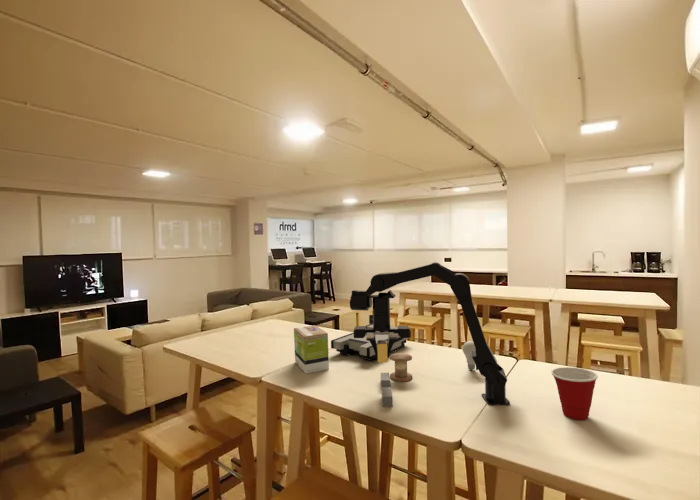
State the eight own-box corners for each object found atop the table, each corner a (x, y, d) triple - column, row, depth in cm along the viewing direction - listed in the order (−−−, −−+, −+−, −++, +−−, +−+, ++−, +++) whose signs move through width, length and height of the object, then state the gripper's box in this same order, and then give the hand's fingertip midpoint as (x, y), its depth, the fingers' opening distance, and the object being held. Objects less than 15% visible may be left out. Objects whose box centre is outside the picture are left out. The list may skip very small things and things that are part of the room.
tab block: (387, 362, 113) (387, 342, 113) (377, 362, 113) (377, 343, 113) (387, 358, 117) (386, 339, 117) (377, 358, 117) (377, 339, 117)
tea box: (294, 362, 143) (293, 327, 143) (316, 358, 147) (316, 324, 147) (305, 374, 129) (303, 335, 129) (329, 369, 133) (328, 332, 133)
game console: (331, 356, 150) (330, 337, 150) (372, 339, 176) (372, 323, 175) (370, 365, 138) (369, 345, 138) (408, 346, 163) (408, 328, 163)
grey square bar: (392, 406, 102) (392, 396, 102) (382, 406, 102) (382, 396, 102) (389, 381, 121) (389, 372, 121) (380, 381, 121) (380, 372, 121)
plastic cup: (554, 402, 102) (554, 362, 102) (599, 413, 95) (599, 370, 95) (548, 417, 93) (547, 373, 93) (596, 430, 87) (596, 383, 86)
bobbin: (413, 381, 120) (413, 360, 120) (390, 381, 120) (390, 360, 120) (411, 373, 128) (410, 352, 128) (389, 373, 128) (389, 353, 128)
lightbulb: (477, 367, 132) (477, 339, 132) (482, 373, 126) (481, 343, 126) (461, 367, 133) (460, 338, 132) (465, 373, 127) (464, 343, 126)
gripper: (407, 306, 122) (408, 349, 122) (354, 307, 123) (356, 350, 123) (410, 312, 111) (411, 360, 111) (352, 313, 112) (354, 360, 112)
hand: (382, 357), depth 115 cm, fingers closed on tab block, 3 cm apart
